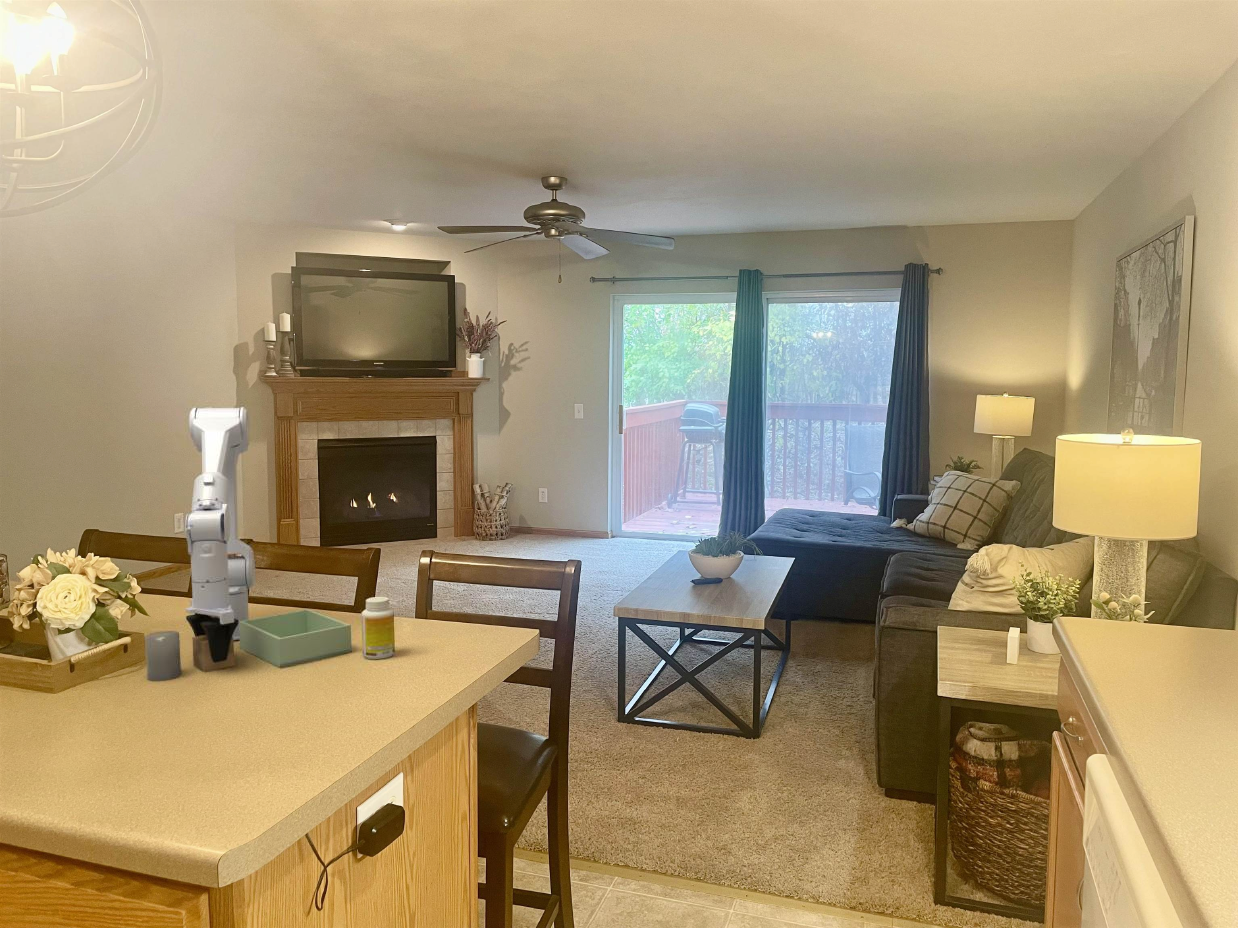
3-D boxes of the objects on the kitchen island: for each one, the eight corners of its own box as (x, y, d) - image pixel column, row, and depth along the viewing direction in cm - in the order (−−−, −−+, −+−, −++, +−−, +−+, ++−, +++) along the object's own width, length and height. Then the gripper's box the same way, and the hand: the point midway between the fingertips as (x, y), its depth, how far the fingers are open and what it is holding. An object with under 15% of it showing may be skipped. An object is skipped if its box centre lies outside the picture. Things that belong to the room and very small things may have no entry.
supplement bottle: (400, 656, 158) (398, 599, 158) (370, 662, 155) (368, 604, 154) (386, 649, 163) (385, 594, 162) (357, 655, 159) (355, 598, 158)
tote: (240, 648, 164) (238, 621, 164) (308, 634, 173) (307, 608, 173) (280, 668, 152) (278, 639, 151) (351, 652, 161) (350, 624, 160)
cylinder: (143, 676, 148) (141, 634, 147) (175, 669, 151) (173, 629, 151) (152, 683, 144) (150, 640, 144) (185, 676, 148) (183, 634, 147)
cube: (193, 665, 153) (192, 637, 153) (223, 659, 157) (222, 631, 156) (204, 672, 150) (203, 642, 149) (234, 665, 153) (233, 637, 153)
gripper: (170, 576, 155) (174, 653, 156) (201, 589, 144) (205, 671, 145) (212, 571, 160) (216, 645, 161) (245, 582, 149) (248, 662, 150)
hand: (213, 657), depth 153 cm, fingers closed on cube, 5 cm apart
